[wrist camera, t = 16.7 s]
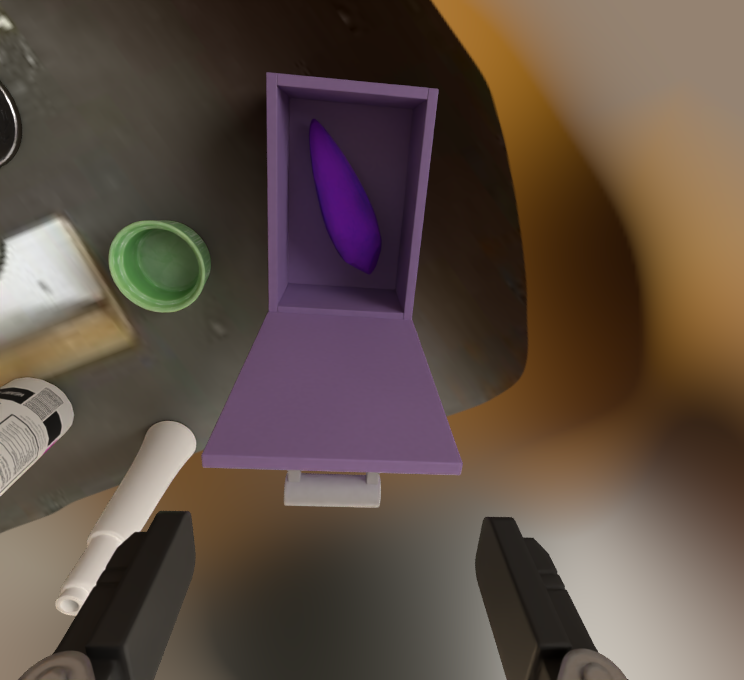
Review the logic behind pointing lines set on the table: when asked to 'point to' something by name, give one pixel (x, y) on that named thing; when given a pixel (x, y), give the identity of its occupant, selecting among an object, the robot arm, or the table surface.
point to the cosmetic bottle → (128, 507)
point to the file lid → (334, 409)
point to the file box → (376, 174)
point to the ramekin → (159, 264)
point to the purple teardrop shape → (343, 203)
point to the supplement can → (29, 424)
